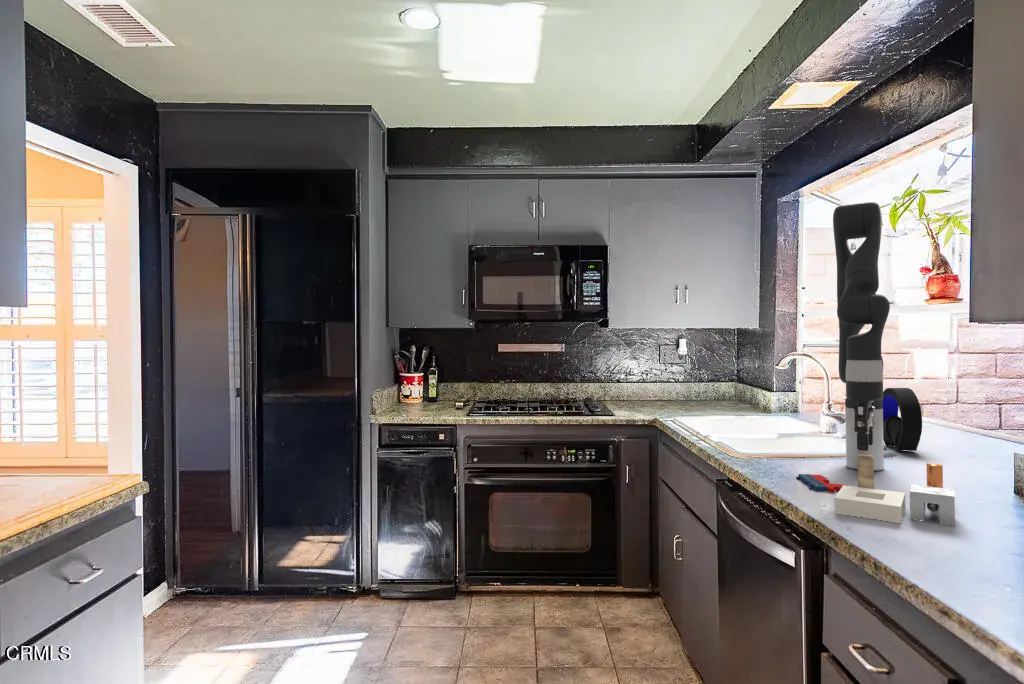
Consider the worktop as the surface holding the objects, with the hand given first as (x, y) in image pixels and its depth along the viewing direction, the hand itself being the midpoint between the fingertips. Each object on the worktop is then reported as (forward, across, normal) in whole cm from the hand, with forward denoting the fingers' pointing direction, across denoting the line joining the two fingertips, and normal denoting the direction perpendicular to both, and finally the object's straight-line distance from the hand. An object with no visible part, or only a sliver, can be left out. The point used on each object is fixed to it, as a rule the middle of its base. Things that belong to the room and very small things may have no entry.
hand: (865, 447), depth 135 cm
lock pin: (+12, 0, -13) cm, 17 cm away
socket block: (+12, -11, -2) cm, 16 cm away
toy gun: (+13, +7, +10) cm, 18 cm away
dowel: (+12, 0, 0) cm, 12 cm away
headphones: (+11, +66, -2) cm, 67 cm away
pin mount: (+12, -10, -13) cm, 20 cm away
